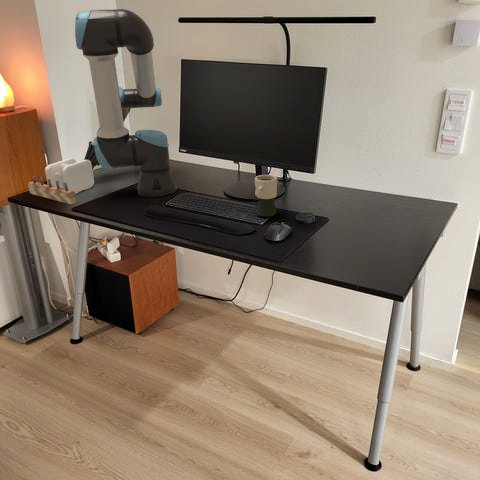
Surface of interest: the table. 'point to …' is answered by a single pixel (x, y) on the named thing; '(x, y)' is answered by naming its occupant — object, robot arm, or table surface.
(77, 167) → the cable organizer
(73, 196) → the comb rail
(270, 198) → the character mug
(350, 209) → the table surface
